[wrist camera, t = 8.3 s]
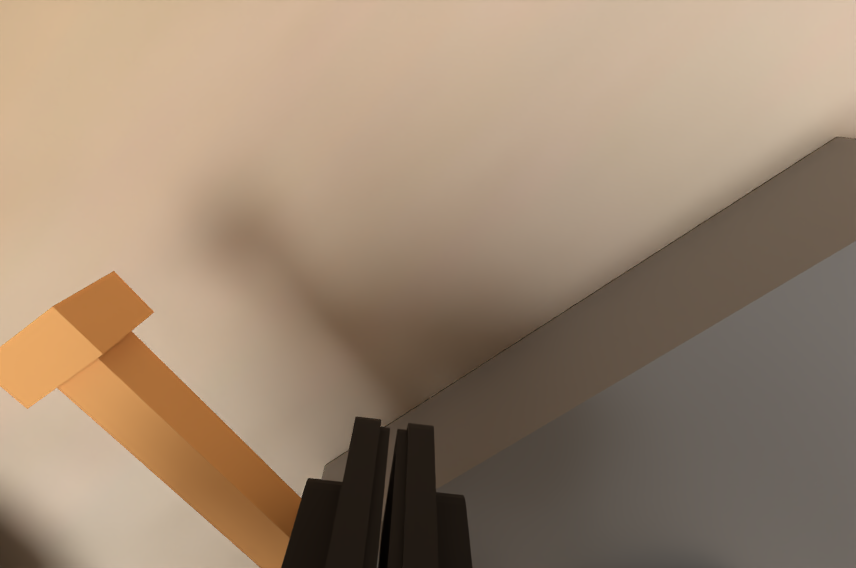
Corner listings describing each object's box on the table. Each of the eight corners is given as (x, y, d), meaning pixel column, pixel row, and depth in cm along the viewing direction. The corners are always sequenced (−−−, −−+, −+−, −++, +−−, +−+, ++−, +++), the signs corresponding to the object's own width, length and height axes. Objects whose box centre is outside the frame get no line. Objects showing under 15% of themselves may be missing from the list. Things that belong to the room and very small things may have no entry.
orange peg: (114, 271, 9) (52, 306, 8) (500, 665, 13) (510, 738, 12) (47, 322, 9) (-25, 365, 8) (443, 690, 13) (446, 764, 12)
